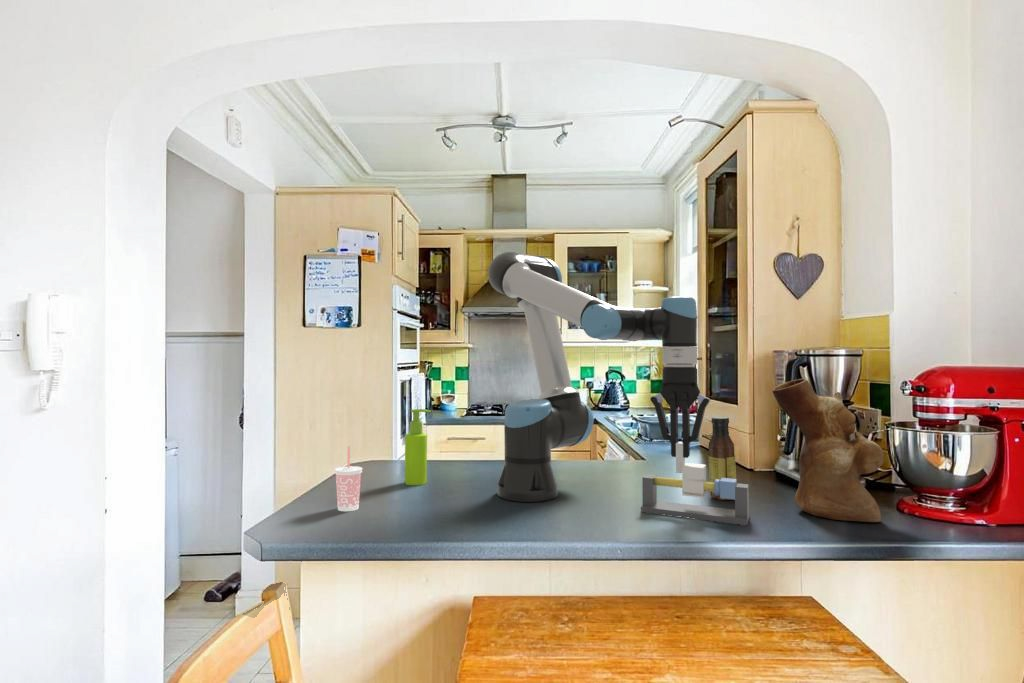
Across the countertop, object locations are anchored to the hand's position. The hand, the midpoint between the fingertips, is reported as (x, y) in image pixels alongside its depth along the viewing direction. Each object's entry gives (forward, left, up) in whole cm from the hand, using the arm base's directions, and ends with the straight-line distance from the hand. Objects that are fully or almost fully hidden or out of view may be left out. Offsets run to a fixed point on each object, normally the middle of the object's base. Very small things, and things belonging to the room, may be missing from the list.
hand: (680, 471), depth 126 cm
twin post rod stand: (+3, 0, -9) cm, 10 cm away
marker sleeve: (+3, 0, -5) cm, 6 cm away
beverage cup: (-68, -31, -9) cm, 75 cm away
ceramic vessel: (+29, +14, -9) cm, 34 cm away
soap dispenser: (-69, -3, -9) cm, 70 cm away
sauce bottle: (+7, +18, -9) cm, 22 cm away
